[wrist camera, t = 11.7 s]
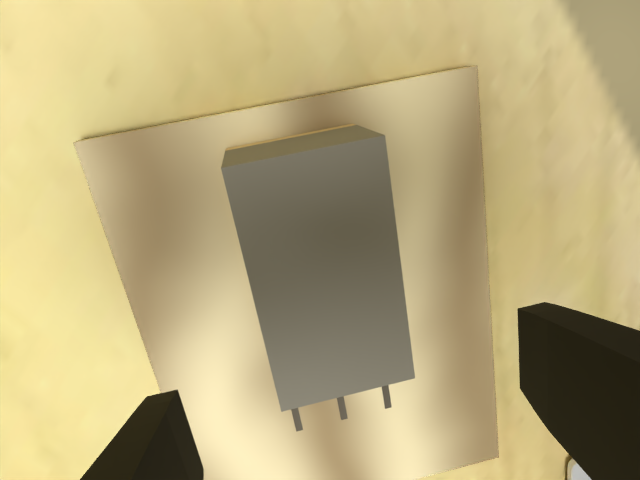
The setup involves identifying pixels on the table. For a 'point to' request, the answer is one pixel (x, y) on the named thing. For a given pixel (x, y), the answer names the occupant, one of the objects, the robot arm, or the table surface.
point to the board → (238, 305)
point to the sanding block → (322, 261)
